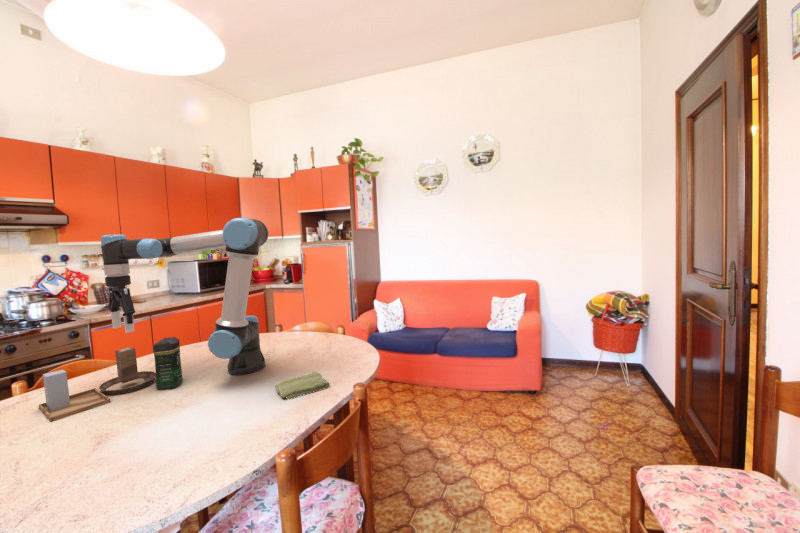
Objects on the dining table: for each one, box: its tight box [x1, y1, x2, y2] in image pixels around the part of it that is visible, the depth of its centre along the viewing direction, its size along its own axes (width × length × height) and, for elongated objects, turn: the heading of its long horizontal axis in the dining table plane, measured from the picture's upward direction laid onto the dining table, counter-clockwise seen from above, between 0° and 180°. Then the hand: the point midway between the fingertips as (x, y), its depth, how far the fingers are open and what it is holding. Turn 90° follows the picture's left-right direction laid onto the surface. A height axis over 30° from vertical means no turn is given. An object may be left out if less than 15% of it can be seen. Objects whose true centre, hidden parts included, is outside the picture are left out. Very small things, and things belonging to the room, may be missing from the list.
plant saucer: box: [98, 370, 156, 395], centre depth 135 cm, size 18×18×3 cm
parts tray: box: [38, 388, 112, 423], centre depth 120 cm, size 17×15×2 cm
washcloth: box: [274, 371, 330, 400], centre depth 128 cm, size 13×18×3 cm
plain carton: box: [42, 369, 70, 412], centre depth 118 cm, size 4×5×12 cm
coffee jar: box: [152, 336, 183, 391], centre depth 134 cm, size 10×8×19 cm
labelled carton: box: [114, 346, 139, 384], centre depth 135 cm, size 4×5×12 cm
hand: (123, 330), depth 133 cm, fingers open, 13 cm apart
